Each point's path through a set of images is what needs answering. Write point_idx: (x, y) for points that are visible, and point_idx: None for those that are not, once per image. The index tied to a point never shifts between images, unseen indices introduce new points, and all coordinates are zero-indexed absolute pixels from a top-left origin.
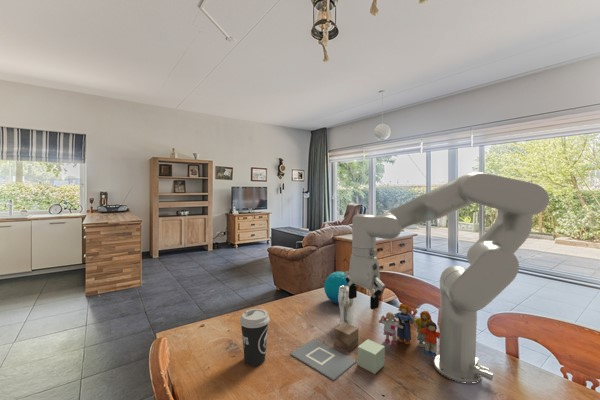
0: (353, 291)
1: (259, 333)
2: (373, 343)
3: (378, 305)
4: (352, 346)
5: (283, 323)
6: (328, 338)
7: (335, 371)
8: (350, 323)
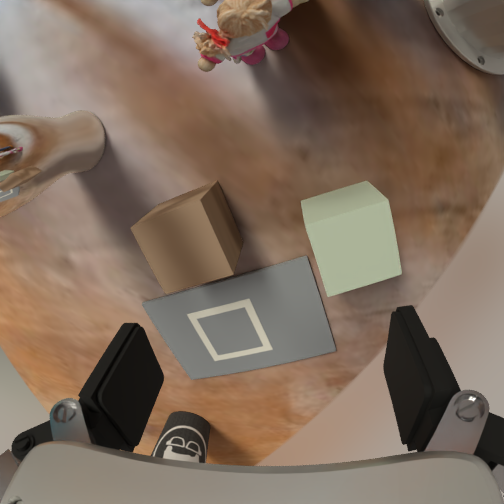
0: (134, 398)
1: None
2: (346, 227)
3: (415, 312)
4: (232, 222)
5: (49, 321)
6: (143, 256)
7: (314, 334)
8: (93, 141)
